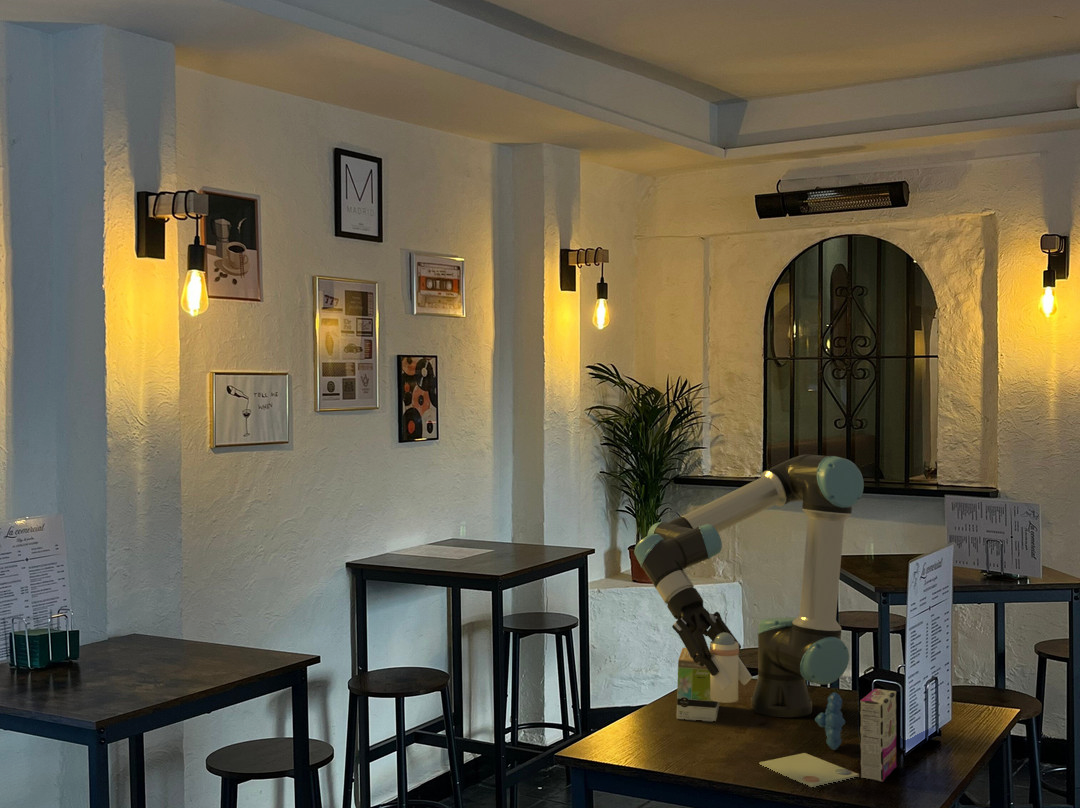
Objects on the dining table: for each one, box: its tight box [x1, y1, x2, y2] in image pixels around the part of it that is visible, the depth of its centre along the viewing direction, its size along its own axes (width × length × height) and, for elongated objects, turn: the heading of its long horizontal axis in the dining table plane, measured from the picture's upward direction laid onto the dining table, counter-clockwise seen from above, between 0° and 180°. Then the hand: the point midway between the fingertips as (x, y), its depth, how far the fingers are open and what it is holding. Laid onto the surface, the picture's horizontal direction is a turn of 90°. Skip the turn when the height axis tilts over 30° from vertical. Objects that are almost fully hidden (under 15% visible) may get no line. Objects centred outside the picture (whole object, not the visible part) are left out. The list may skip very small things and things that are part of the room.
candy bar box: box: [859, 688, 897, 783], centre depth 236 cm, size 11×5×16 cm, turn 148°
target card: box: [759, 752, 860, 788], centre depth 237 cm, size 13×16×1 cm
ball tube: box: [709, 632, 740, 704], centre depth 241 cm, size 6×6×14 cm
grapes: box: [814, 691, 846, 751], centre depth 254 cm, size 12×7×12 cm, turn 163°
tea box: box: [676, 647, 720, 722], centre depth 280 cm, size 15×10×15 cm
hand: (737, 683), depth 238 cm, fingers closed on ball tube, 6 cm apart
